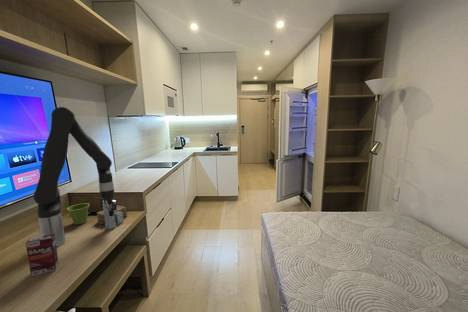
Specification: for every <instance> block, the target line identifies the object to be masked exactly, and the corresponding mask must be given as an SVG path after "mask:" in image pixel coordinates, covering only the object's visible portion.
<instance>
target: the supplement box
mask: <svg viewBox="0 0 468 312" xmlns="http://www.w3.org/2000/svg"><path fill="white" fill-rule="evenodd" d="M25 247H26V253H27V259H28V265H29V272H30V277H34V276H38V275H42V274H45V273H46V274H47V273H49V272H54V271H57V269H58V267H59V258H58V257H59V256H58V248H57V247H56V240H55V233H54V234H49V235H44V236H39V235H38V236H35V237H30V238H28V240H27V241H26V242H25Z"/></svg>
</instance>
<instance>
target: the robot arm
mask: <svg viewBox="0 0 468 312" xmlns="http://www.w3.org/2000/svg"><path fill="white" fill-rule="evenodd" d="M50 123H51V125H50V131H49V135H48V137H47V139H46V142H45V146H44V148H43V153H42V157H41V164H40V171H39V179H38V182H37V185H36V188H35V190H34V192H33V200H34V202H35V203H36V204H37V217H38V225H39V230H38V237H39V236H44V235H49V234H54V233H55V240H56V248H57V247H59V246H62V245H63V244H65V242H66V236H65V235H66V234H65V229H64V222H63V216H62V215H63V214H62V201H61V195H60V190H59V188H58V183H59V179H60V176H61V174H62V171H63V169H64V166H65V163H66V159H67V155H68V150H69V137H70V136H72V137H73V138H74V140H75V141H76V142H77V144H78V145H79V146H80V148H81V149H82V150H83V151H84V152H85V153H86V154H87V156H89V157H90V158H92V160H93V161H94V162H95V164H96V168H97V174H98V189H99V197H100V198H99V199H98V202H99V204H100V207H101V208H102V209H103V208H104V207H107V206H108V208H109V210H110V216H114V210H115V209H116V207H117V205H118V200H115V199H114V196H115V187H114V181H113V174H112V172H111V168H112V164H113V162H112V160H111V158H110V157H109V156H108V155H107V154H106V153H105V152H104V151H103V150H102V149H101V147H100V146H99V144H98V143H96V141H95V140H94V139H93V138H92V137H91V136H90V135H89V134H88V133H87V132H86V131H85V130H84V128H82V126H81V125H80V124H79V122H78V120H77V119H76V116H75V114H74V112H73V110H71V109H70V108H69V107H64V106H59V107H56V108H54V109H53V110H52V112H51V122H50ZM69 135H70V136H69ZM111 206H112V208H111Z"/></svg>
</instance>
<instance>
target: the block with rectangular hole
mask: <svg viewBox="0 0 468 312" xmlns="http://www.w3.org/2000/svg"><path fill="white" fill-rule="evenodd" d="M118 211H120V212H123V219H125V218H127V217H128V215H127V207H126V206H122V205H118V204H117V207H116V209H115V210H114V213H115V212H118ZM96 216H97V223H98V224H102V225H105V218H104V209H103V210H100V211H98V212H96Z"/></svg>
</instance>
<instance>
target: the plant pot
mask: <svg viewBox="0 0 468 312" xmlns="http://www.w3.org/2000/svg"><path fill="white" fill-rule="evenodd" d="M89 207H90V203H88V202H87V203H79V204H78V203H77V204H73V205H71V206H69V207H67V208H66V210H67V211H68V212H69V214H70V218H71V219H72V223H73V225H75V226H77V225H78V226H79V225H83V224H85V223H86V222H87V221H88V216H89V214H88V213H89Z"/></svg>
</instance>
